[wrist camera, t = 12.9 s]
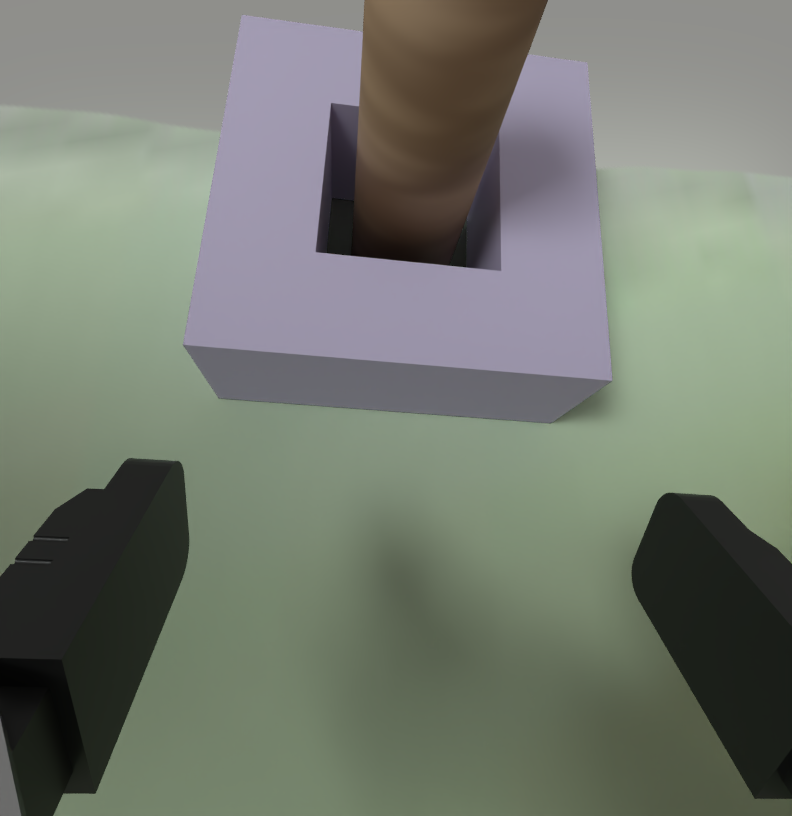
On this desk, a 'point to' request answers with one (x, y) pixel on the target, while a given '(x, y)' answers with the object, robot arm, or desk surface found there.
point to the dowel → (431, 117)
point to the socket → (390, 279)
